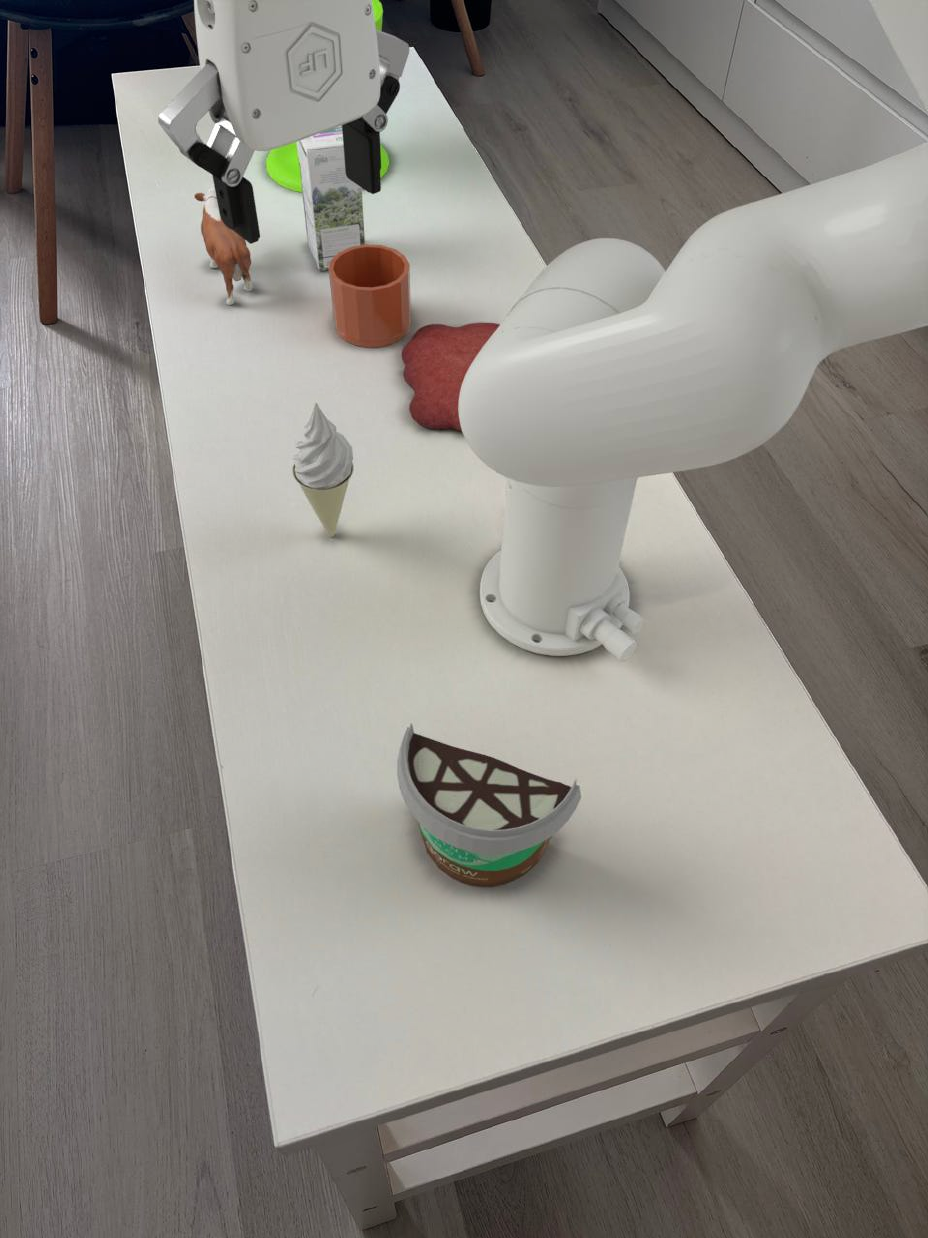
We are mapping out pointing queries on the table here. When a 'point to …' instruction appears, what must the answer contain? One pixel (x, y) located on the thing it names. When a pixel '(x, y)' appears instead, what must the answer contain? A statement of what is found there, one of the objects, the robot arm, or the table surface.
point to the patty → (441, 370)
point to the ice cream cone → (324, 468)
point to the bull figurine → (224, 245)
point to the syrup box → (329, 197)
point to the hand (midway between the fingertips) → (305, 208)
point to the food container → (480, 810)
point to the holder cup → (370, 295)
